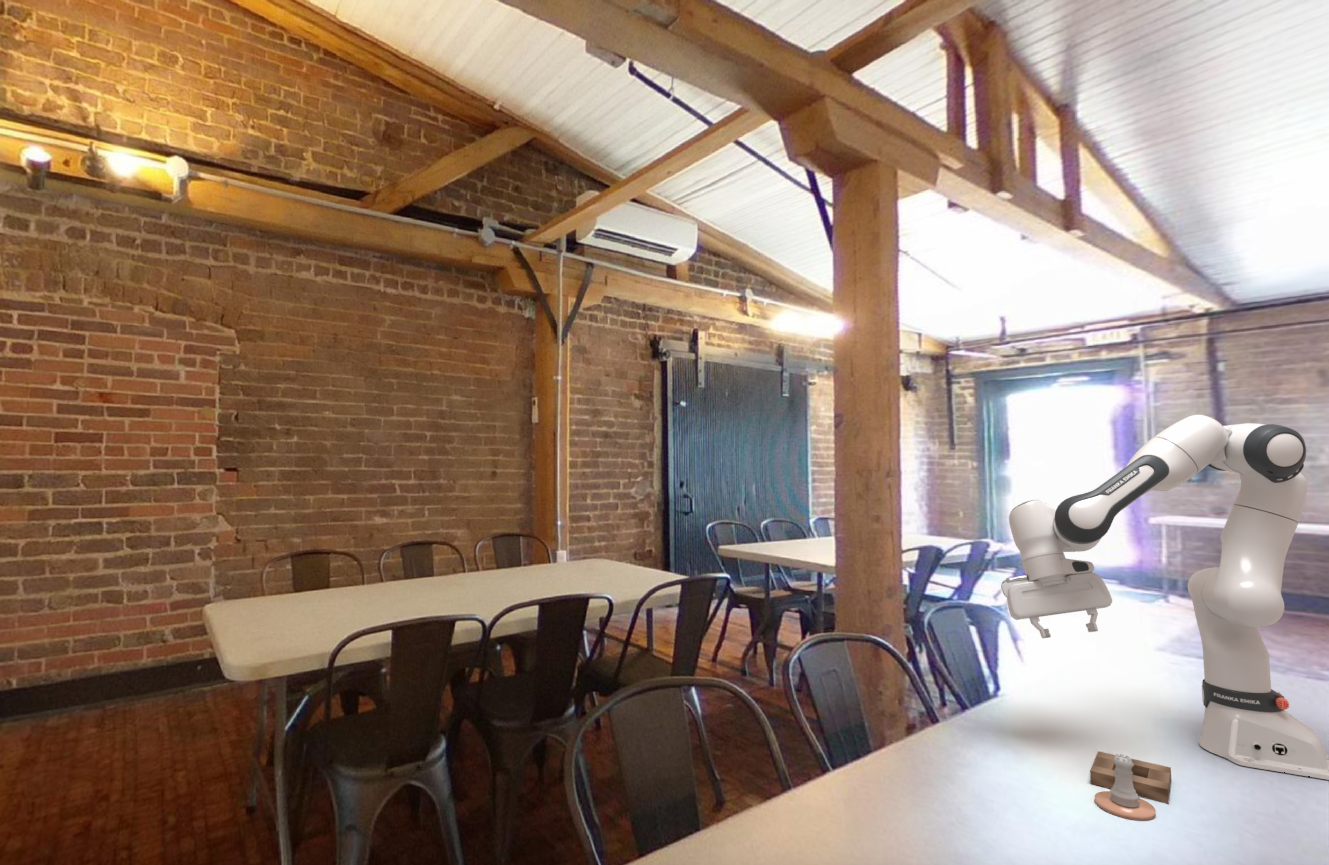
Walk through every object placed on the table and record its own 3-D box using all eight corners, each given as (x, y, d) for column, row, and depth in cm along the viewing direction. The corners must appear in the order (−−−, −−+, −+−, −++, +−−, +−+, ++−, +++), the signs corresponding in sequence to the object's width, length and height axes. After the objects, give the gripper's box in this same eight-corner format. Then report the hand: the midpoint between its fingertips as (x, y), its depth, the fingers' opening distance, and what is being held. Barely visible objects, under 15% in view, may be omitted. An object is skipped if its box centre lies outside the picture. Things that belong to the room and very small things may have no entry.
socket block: (1171, 780, 129) (1170, 767, 129) (1168, 803, 120) (1167, 789, 120) (1098, 763, 136) (1098, 751, 137) (1090, 783, 127) (1090, 770, 127)
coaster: (1157, 806, 119) (1157, 801, 119) (1154, 826, 112) (1153, 821, 112) (1098, 790, 124) (1098, 786, 124) (1091, 809, 117) (1091, 804, 117)
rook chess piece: (1103, 797, 120) (1102, 752, 121) (1126, 795, 121) (1124, 751, 121) (1123, 809, 116) (1121, 762, 116) (1146, 808, 116) (1144, 761, 117)
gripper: (1001, 576, 147) (1021, 639, 141) (1100, 561, 143) (1125, 626, 137) (996, 581, 153) (1015, 642, 147) (1091, 567, 149) (1115, 629, 143)
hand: (1069, 634), depth 142 cm, fingers open, 8 cm apart
